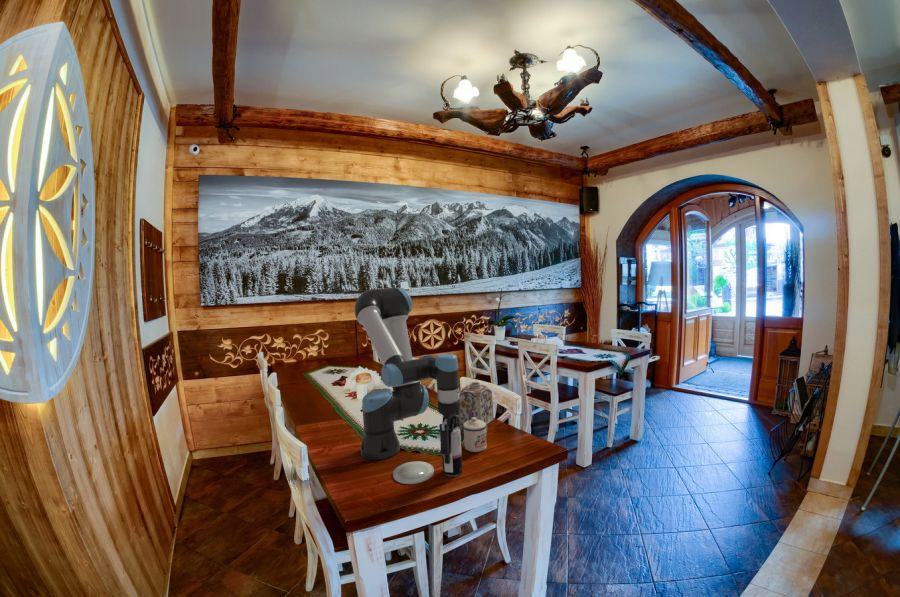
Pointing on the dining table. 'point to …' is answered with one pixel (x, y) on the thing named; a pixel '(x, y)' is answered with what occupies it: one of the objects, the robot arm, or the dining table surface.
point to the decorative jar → (476, 403)
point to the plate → (413, 472)
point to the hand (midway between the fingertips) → (452, 466)
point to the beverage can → (455, 453)
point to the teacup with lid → (475, 435)
